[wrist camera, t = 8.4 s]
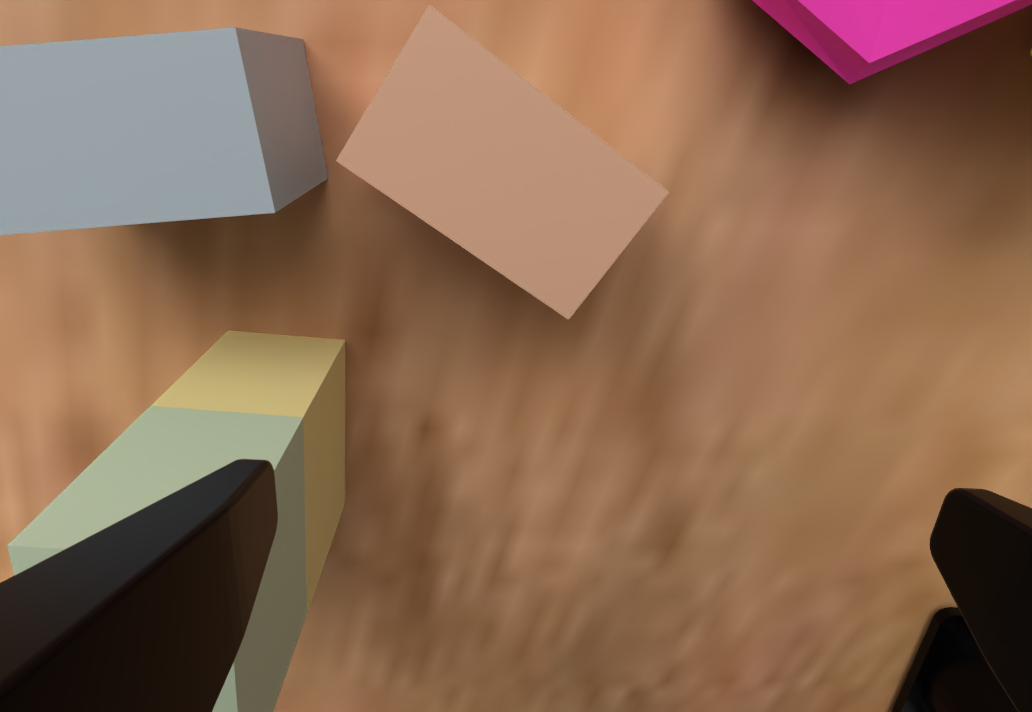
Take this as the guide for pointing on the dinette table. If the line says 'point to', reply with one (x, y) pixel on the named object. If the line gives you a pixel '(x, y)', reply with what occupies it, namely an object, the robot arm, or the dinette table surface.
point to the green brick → (168, 468)
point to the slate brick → (155, 129)
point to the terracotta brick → (499, 166)
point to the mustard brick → (283, 413)
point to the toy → (881, 28)
